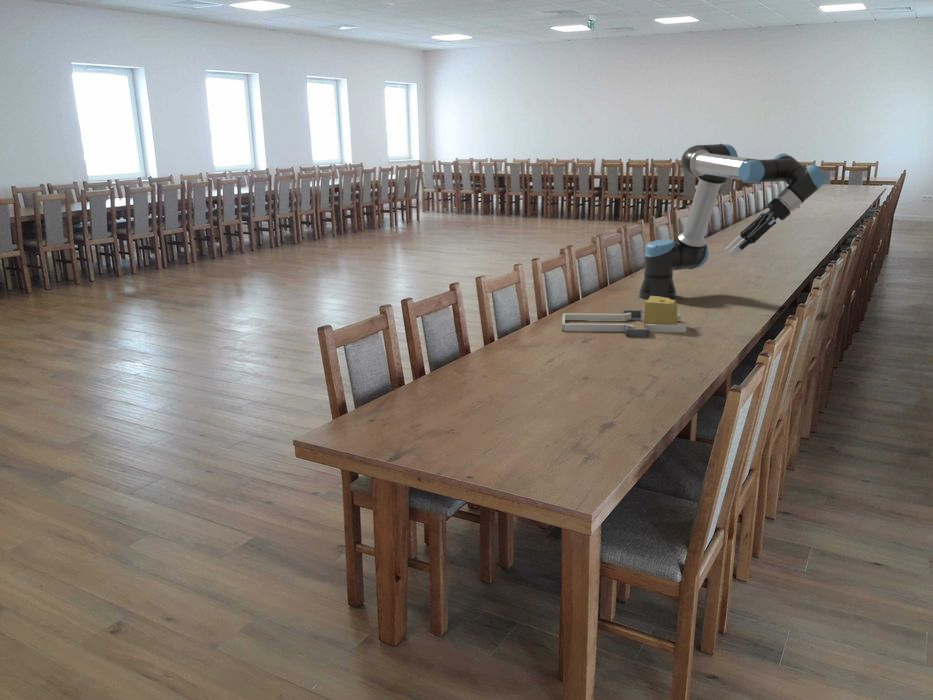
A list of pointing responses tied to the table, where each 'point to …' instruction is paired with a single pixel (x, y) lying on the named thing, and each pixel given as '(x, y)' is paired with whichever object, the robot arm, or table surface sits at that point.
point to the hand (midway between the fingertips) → (730, 253)
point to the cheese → (660, 311)
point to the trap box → (624, 316)
